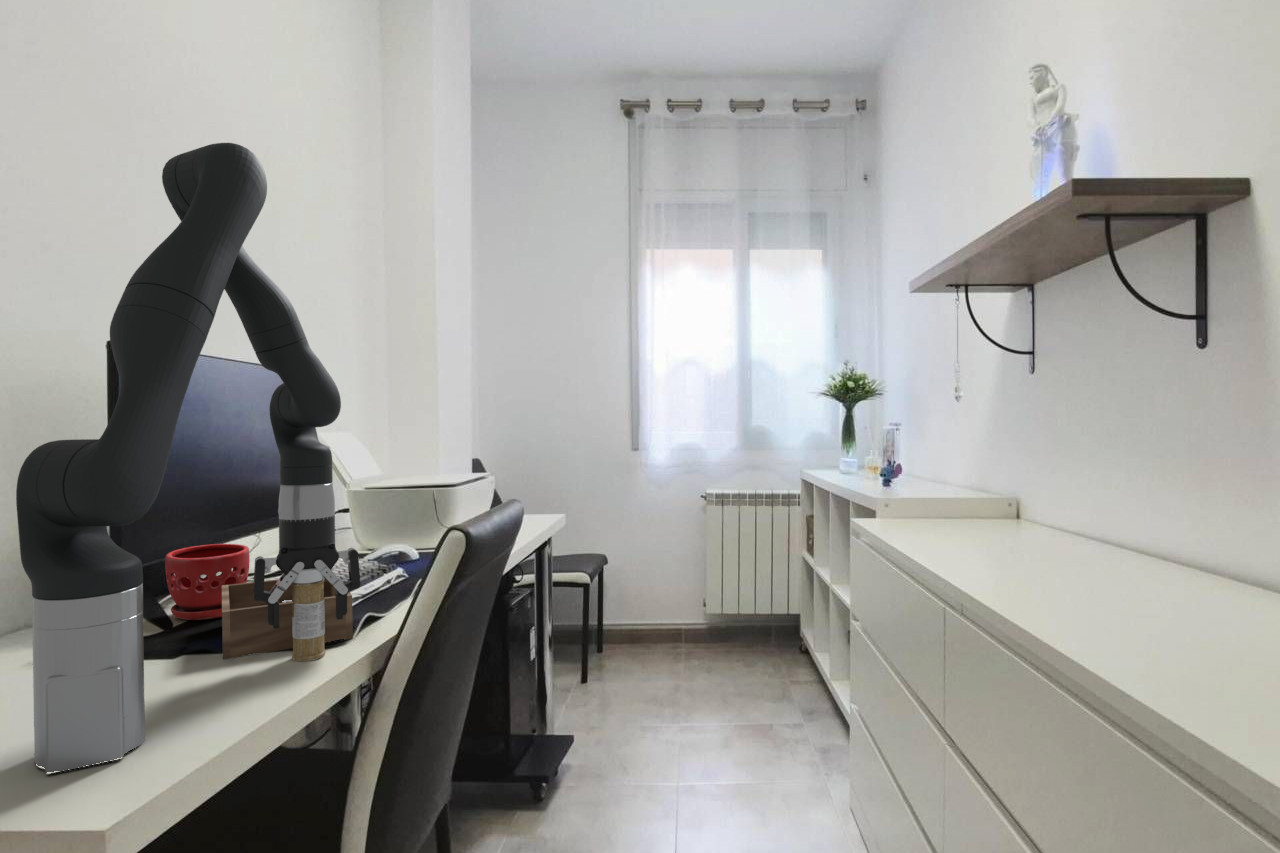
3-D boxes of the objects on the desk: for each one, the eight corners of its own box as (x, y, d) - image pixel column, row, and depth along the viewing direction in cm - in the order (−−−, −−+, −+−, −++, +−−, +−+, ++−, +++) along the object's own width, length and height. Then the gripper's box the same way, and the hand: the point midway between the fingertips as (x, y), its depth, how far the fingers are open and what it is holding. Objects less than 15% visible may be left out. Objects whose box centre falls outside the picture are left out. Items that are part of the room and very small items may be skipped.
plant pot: (149, 620, 123) (148, 553, 123) (218, 602, 135) (218, 541, 135) (198, 628, 118) (197, 558, 118) (266, 608, 130) (265, 545, 130)
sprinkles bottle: (301, 652, 105) (300, 564, 105) (331, 652, 105) (330, 563, 105) (285, 662, 100) (284, 570, 100) (316, 662, 100) (315, 570, 100)
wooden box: (352, 638, 111) (352, 595, 111) (222, 659, 102) (222, 612, 102) (335, 610, 128) (334, 572, 128) (222, 625, 119) (221, 585, 119)
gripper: (253, 521, 95) (255, 637, 96) (362, 513, 103) (363, 621, 103) (251, 515, 102) (252, 624, 102) (354, 508, 109) (355, 609, 109)
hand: (308, 622), depth 103 cm, fingers open, 8 cm apart
